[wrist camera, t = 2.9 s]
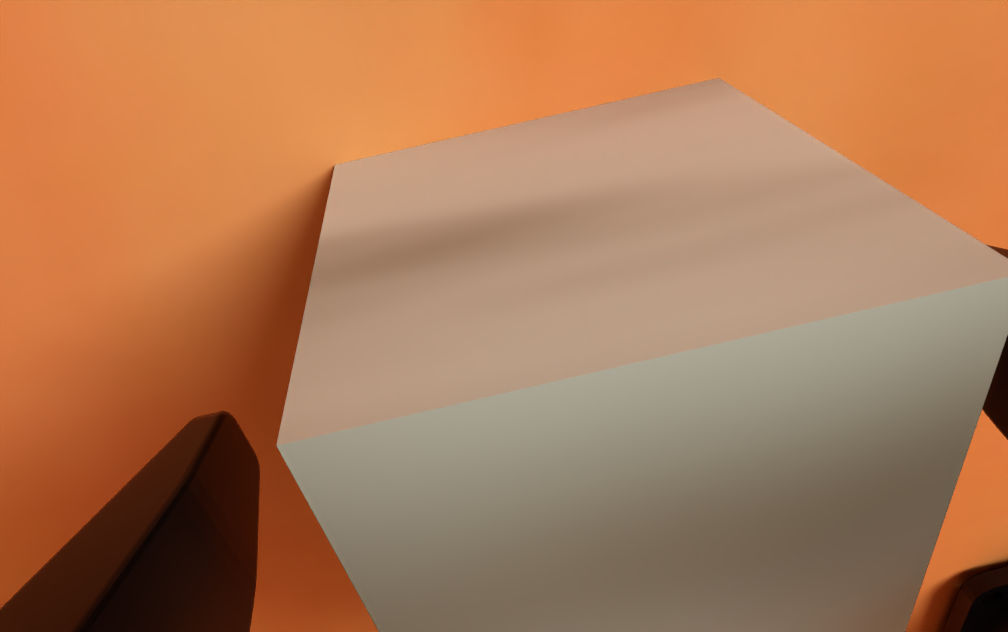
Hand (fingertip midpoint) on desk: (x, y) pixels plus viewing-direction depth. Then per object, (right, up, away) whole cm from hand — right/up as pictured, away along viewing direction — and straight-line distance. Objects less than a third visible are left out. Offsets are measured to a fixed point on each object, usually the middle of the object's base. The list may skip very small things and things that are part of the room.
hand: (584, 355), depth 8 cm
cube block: (0, +1, +1) cm, 2 cm away
